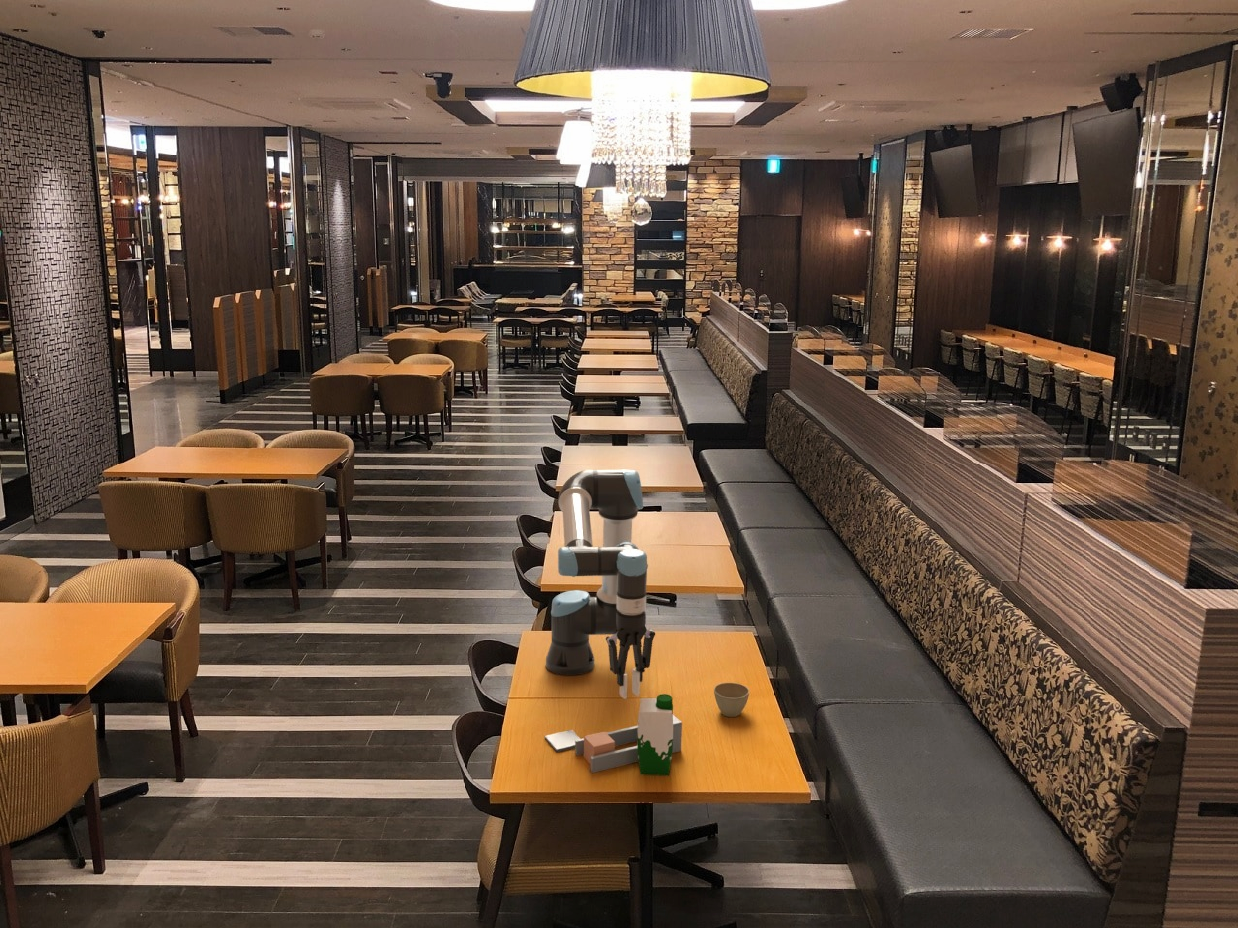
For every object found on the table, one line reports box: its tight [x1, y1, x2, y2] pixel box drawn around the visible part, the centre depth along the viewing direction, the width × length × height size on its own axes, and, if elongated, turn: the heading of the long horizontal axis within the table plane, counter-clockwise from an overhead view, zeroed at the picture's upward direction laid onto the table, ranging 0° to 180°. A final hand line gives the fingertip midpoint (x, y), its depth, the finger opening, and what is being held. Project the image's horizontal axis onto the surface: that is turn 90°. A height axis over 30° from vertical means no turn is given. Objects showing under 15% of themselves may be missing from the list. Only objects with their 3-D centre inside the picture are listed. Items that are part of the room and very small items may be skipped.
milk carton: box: [636, 693, 674, 776], centre depth 266 cm, size 9×9×20 cm
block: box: [583, 731, 616, 765], centre depth 271 cm, size 6×6×6 cm
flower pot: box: [713, 682, 750, 718], centre depth 296 cm, size 10×10×7 cm
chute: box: [574, 714, 683, 774], centre depth 274 cm, size 10×26×8 cm, turn 117°
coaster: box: [544, 729, 581, 753], centre depth 280 cm, size 8×8×1 cm
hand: (629, 694), depth 271 cm, fingers open, 3 cm apart
